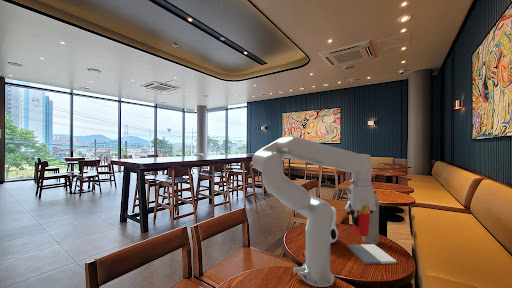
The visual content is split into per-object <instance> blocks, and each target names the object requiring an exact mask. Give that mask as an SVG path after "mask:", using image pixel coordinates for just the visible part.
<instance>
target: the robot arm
mask: <svg viewBox="0 0 512 288" xmlns="http://www.w3.org/2000/svg"><path fill="white" fill-rule="evenodd" d="M285 158H288V159H293V160H297V161H301V162H304V163H307V164H308V163H309V164H312V165H315V166H321V167H327V168H334V169H337V171H338V170H339V171H342V172H345V173H346V172H349V173H351V179H349V180H348V182H349V184H350V185H349V189H348V195H347V204H346V205H345V206H344V210H346V211H347V212H348V213H349V214H351V222H352V226H353V225H355V226H358V217H357V213H358V211H361V210H363V209H364V206H365V205H366V206H370V212H369V213H370V216H371V214H372V213H373V211H375V210H376V209H377V208H376V206H375V195H374V191H375V190H374V187H373V185H372V155H370V154H368V153H367V154H365V153H357V152H354V151H350V150H346V149H343V148H339V147H335V146H334V147H333V146H331V145H327V144H323V143H319V142H315V141H312V140H309V139H305V138H302V137H298V136H282V137H280V138H278V139H277V140H275V141H273V142H271V143H270V144H268V145H266V146H263V147H262V148H260V149H258V150H257V151H256V152H255V153H253V156H252V159H251V162H252V163H251V164H252V166H253V168H255V170H257V171H258V172H261V180H262V184H263V186H264V188H265V190H266V191H267V192H268V193H270V194H271V195H272V196H274V197H275V198H277V199H278V201H280V202H281V203H282V204H283V205H285V206H286V207H288V208H290V209H291V210H293V211H295V212H296V213H297V214H299V215H301V216H303V217H305V218H306V219H309V223H308V226H307V228H306V227H305V259H304V260H305V262H304V263H303V264H302V265H301V266H300V267H297V266H295V267H293V273H295V274H296V273H297V275H298V277H301V278H302V280H303V282H305V284H307V283H308V284H307V285H309V284H310V285H314V286H319V287H326V286H330V285H332V284H333V282H334V283H335V276H334V275H333V273H332V272H331V244H330V234H331V224H332V220H333V209H332V207H333V206H332V207H331V204H330V203H329V202H328V201H326V200H324V199H323V198H319V197H317V196H314V195H312V194H310V193H309V191H308V190H307V189H306V188H305V187H303V186H302V185H299V184H298V183H296V182H295V181H293V180H292V179H290V178H289V177H288V176H286V175H285V173H284V162H283V159H285ZM310 285H309V286H310ZM333 285H334V284H333ZM333 285H332V286H333Z"/></svg>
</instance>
